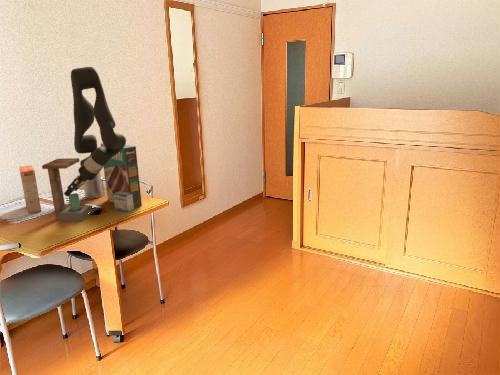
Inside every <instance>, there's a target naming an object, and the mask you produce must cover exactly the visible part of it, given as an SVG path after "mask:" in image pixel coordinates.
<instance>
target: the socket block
mask: <svg viewBox="0 0 500 375" xmlns="http://www.w3.org/2000/svg"><path fill="white" fill-rule="evenodd" d="M65 208H66V209H65V210H63V211H62V212H60V213H59V214H60V220H59V221H60V223H61V222H62V223H63V222H64V223H65V222H67V223H68V222H84V221H85V220H86V219H87V218H88V217H89V216H91V215H92V213H93V212H92V206H91V205H80V208H81V210H80V211H71V209H70V205H69V206H68V207H65ZM90 211H91V212H90ZM89 212H90V213H89ZM88 213H89V214H88Z"/></svg>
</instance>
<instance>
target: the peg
mask: <svg viewBox="0 0 500 375" xmlns="http://www.w3.org/2000/svg"><path fill="white" fill-rule="evenodd" d="M68 200H69V206H70V209H71V211H80V210H81V208H80V206H81V203H80V197H79V193H71V194H70V195H69V196H68Z"/></svg>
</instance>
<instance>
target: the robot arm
mask: <svg viewBox="0 0 500 375" xmlns="http://www.w3.org/2000/svg"><path fill="white" fill-rule="evenodd" d="M70 81H71V88H72V97H73V121H74V140H73V142H74V143H73V144H74V150H75V151H76V153H77V154H90V155H89V156H87V157H85V158H83V159H81V160H79V164H80V167H79V168H78V169H77V171H78V173H79V175H77V176H76V177H75V178H74V179H73V180H72V182H71V183H70V184H69V185H68V186H67V187H66V188H67V189H66V190H65V192H63V196H65V197H67V198H69V195H70V194H73V192H74V191H75V192H76V191H78V190H79V188H80V187H81V186H83V192H84V198H86V199H98V198H102V197H103V196H105V195H106V193H105V186H104V178H103V177H102V176H101V171H102V170H103V169H104V165H105V164H106V163H107V162H108V161H109V159H110V158H112V157H113V156H115V155H116V154H117V153H118V152H120V151H121V150H122V149H123V148H124V146H125V145H127V144H126V143H127V139H126V136H124V135H123V134H122V133H118V132H117V133H116V132H115V130H114V129H115V127H116V121H115V119H114V117H113V115H112V112H111V109H110V107H109V105H108V102H107V98H106V95H105V91H104V88H103V84H102V81H101V78H100V75H99V73H98V71H97V69H96V68H95V67H94V66H85V67H84V66H83V67H76V68H73V69H72V70H71V72H70ZM90 89H91V90H92V89H94V90H95V91H94V92H95V101H94V105H93V104H92V103H91V102H90V101H89V100H88V99H87V98H86V96H85V95H84V94H83V91H85V90H90ZM95 121H96V123H97V125H98V128H99V133H100V138H101V142H102V143H103V144H104V145H105V146H102V147H101V146H99V147H98V140H97V137H96V135H95V134H85V133H86V132H87V131H89V129H90V128H91V127H92V125H93V124H94V122H95ZM84 134H85V135H84Z"/></svg>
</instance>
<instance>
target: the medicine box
mask: <svg viewBox="0 0 500 375" xmlns="http://www.w3.org/2000/svg"><path fill="white" fill-rule="evenodd" d="M113 203H114V210H115V211H116V212H117V211H118V212H127V213H129V212H131V211H133V210H135V208H134V206H133V196H132V193H129V192H116V193H114V202H113Z"/></svg>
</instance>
